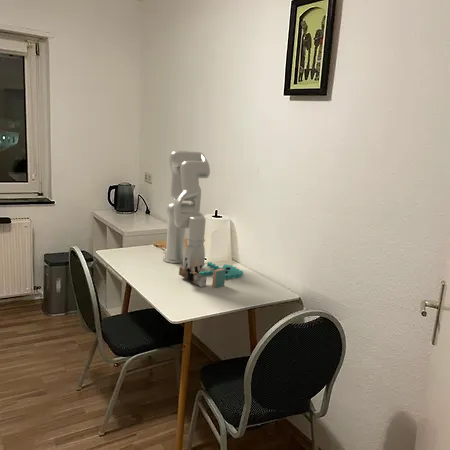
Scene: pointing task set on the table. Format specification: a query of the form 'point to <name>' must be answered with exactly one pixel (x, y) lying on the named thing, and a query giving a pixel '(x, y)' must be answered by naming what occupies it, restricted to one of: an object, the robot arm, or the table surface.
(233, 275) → the alien figure
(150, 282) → the table surface
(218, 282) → the tile
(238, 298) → the table surface
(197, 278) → the brown flat bar
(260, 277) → the table surface
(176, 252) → the robot arm
